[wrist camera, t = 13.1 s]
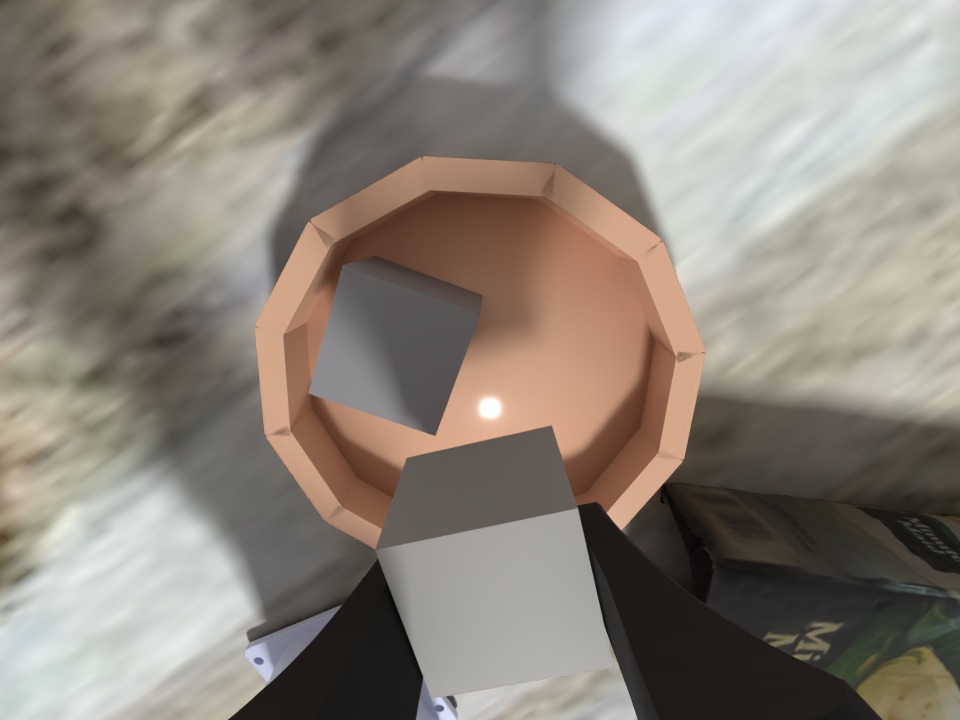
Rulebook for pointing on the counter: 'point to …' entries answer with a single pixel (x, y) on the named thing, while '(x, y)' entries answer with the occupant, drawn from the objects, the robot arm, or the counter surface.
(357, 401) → the grey cube
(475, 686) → the grey cube
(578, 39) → the counter surface
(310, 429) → the bowl
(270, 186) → the counter surface
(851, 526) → the juice carton
